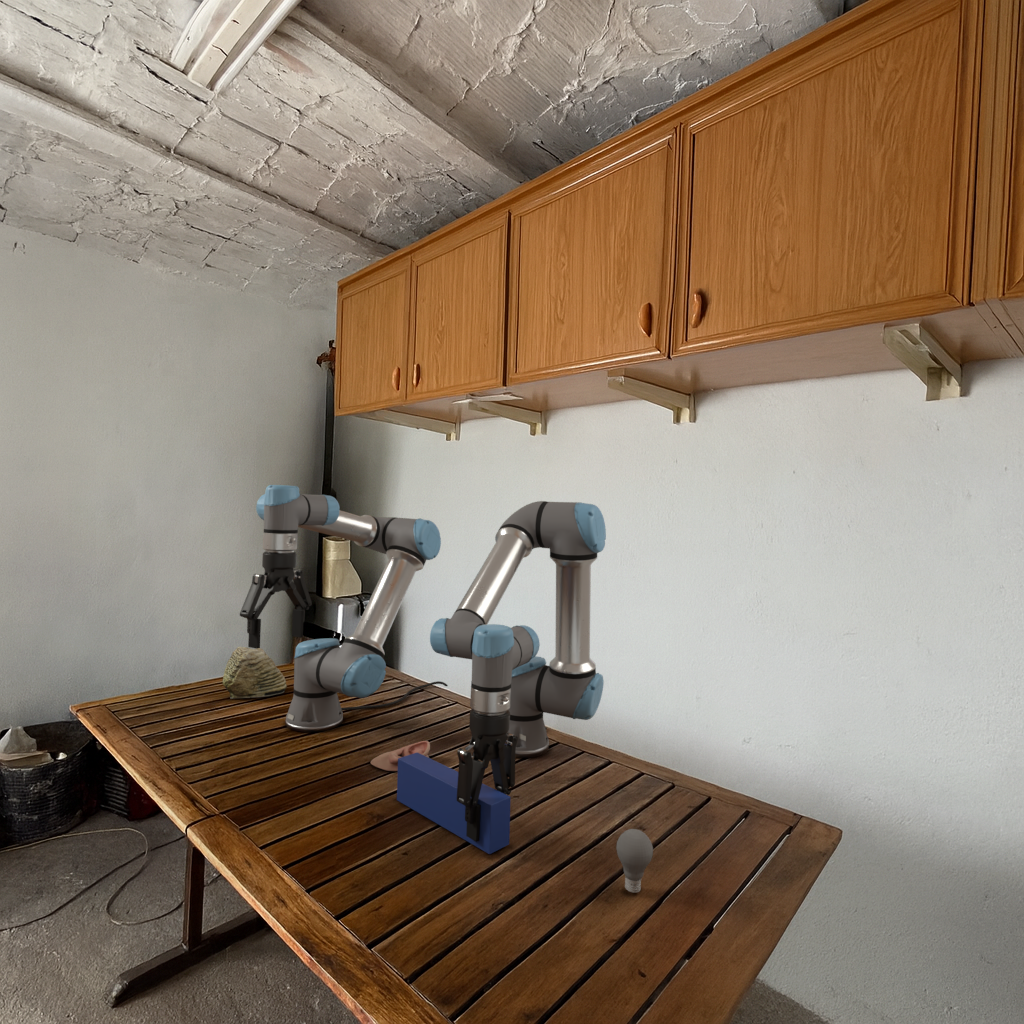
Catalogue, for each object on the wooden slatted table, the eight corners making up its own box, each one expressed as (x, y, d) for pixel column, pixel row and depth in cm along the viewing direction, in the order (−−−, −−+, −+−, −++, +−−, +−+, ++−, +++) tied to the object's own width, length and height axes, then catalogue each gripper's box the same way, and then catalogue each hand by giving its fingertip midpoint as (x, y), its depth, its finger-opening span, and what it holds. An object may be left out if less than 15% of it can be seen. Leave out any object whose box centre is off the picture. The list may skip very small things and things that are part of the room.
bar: (396, 800, 134) (397, 758, 134) (416, 793, 137) (417, 752, 137) (489, 854, 114) (490, 805, 114) (509, 844, 117) (510, 796, 117)
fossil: (218, 695, 195) (220, 647, 195) (278, 685, 208) (279, 640, 207) (228, 703, 189) (230, 653, 188) (289, 692, 201) (290, 645, 201)
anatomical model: (365, 751, 148) (384, 733, 160) (364, 767, 148) (384, 749, 160) (419, 758, 146) (435, 740, 157) (418, 775, 146) (434, 756, 157)
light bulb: (610, 879, 108) (613, 822, 108) (644, 879, 109) (647, 822, 109) (619, 902, 102) (622, 840, 102) (655, 901, 103) (658, 840, 103)
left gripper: (250, 555, 134) (246, 655, 135) (328, 549, 157) (325, 634, 158) (224, 553, 137) (220, 650, 138) (304, 547, 160) (301, 630, 161)
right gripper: (466, 726, 109) (460, 859, 109) (538, 704, 122) (532, 823, 122) (438, 714, 114) (433, 841, 114) (510, 695, 127) (505, 809, 128)
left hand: (276, 642), depth 148 cm, fingers open, 13 cm apart
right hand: (484, 832), depth 118 cm, fingers open, 5 cm apart
